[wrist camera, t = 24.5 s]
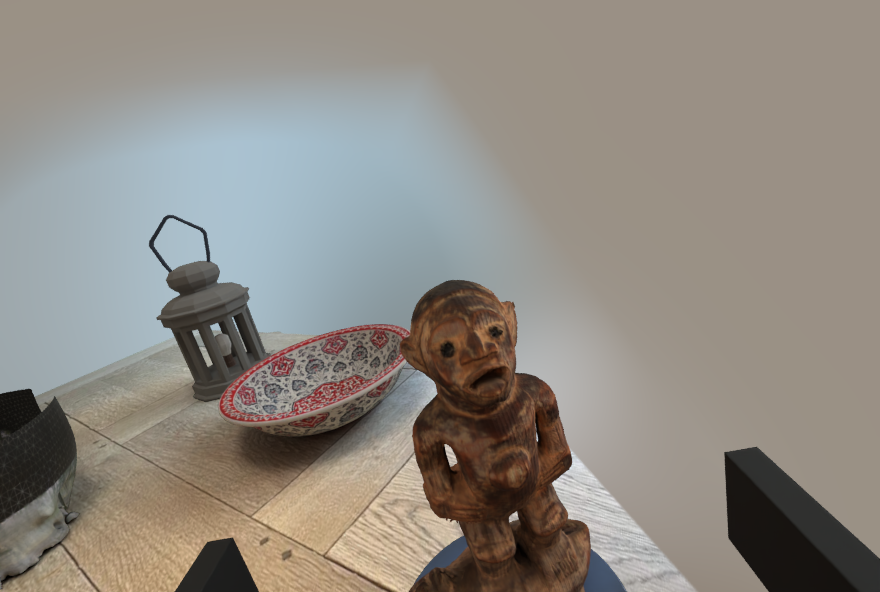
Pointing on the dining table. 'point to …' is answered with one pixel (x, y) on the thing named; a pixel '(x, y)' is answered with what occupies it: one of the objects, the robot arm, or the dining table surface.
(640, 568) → the dining table surface
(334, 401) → the ceramic bowl
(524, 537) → the figurine
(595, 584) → the pedestal
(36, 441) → the basket
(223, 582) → the robot arm
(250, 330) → the lantern
